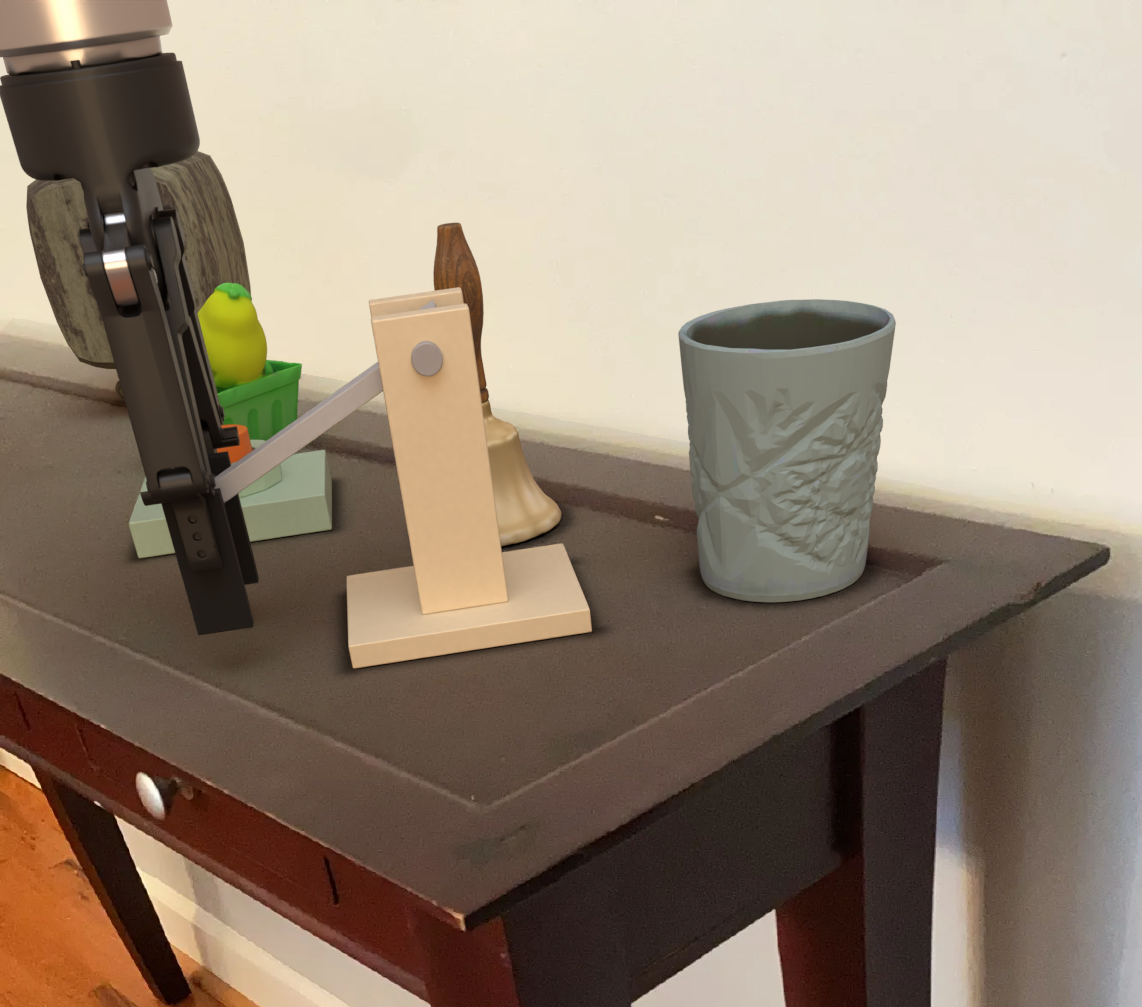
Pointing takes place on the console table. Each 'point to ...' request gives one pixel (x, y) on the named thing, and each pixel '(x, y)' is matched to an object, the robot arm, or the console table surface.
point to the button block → (256, 505)
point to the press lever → (302, 431)
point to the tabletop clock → (63, 213)
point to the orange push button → (243, 448)
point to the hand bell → (513, 484)
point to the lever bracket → (449, 508)
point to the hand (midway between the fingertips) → (229, 604)
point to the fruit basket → (247, 365)
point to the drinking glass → (785, 442)
